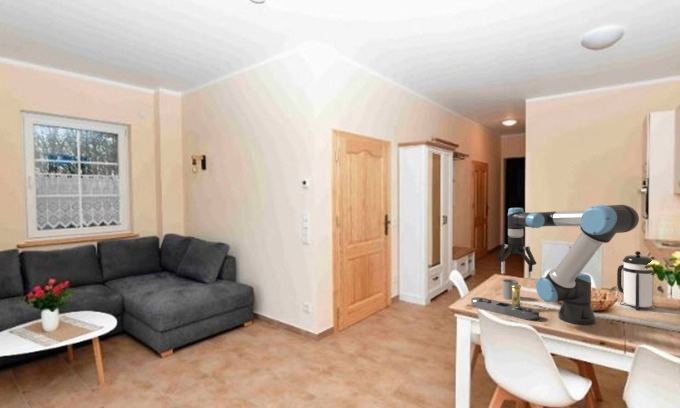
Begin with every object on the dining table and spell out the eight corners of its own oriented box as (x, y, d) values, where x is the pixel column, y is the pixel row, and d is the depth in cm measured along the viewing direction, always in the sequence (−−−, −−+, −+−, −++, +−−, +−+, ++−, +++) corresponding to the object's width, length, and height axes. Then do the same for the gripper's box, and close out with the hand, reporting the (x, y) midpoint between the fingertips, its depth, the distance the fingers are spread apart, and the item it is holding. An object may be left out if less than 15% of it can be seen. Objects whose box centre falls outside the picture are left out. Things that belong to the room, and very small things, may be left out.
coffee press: (657, 306, 194) (658, 250, 194) (654, 313, 183) (655, 254, 182) (617, 299, 207) (617, 247, 206) (612, 306, 196) (612, 251, 195)
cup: (500, 297, 215) (500, 281, 215) (505, 294, 221) (505, 278, 221) (515, 300, 209) (515, 283, 209) (520, 297, 215) (520, 280, 215)
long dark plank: (542, 317, 181) (542, 309, 181) (535, 321, 175) (535, 313, 175) (476, 302, 207) (476, 295, 207) (468, 305, 202) (468, 298, 201)
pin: (522, 307, 197) (522, 285, 196) (518, 309, 194) (518, 287, 193) (513, 305, 200) (513, 284, 200) (509, 307, 197) (509, 285, 197)
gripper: (543, 237, 189) (543, 278, 190) (496, 233, 208) (496, 270, 209) (537, 239, 184) (537, 280, 185) (489, 235, 203) (490, 272, 204)
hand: (515, 275), depth 197 cm, fingers open, 13 cm apart
